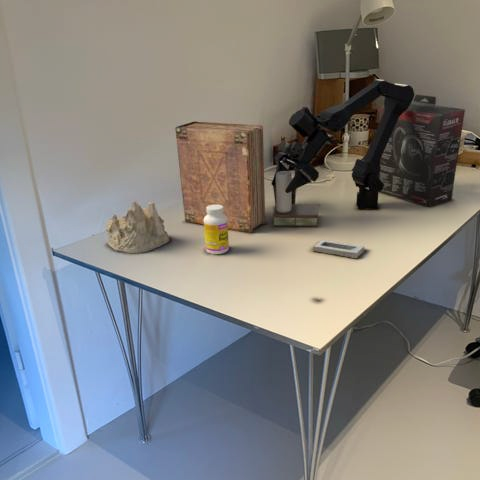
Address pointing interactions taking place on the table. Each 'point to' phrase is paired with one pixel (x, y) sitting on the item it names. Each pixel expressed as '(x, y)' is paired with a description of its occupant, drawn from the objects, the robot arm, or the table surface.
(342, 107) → the robot arm
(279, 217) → the dark wooden slab
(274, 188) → the coffee mug
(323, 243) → the picture frame
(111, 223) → the beige rock formation
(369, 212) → the table surface
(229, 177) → the book
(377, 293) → the table surface
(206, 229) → the supplement bottle
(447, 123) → the headset box
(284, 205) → the beverage can
